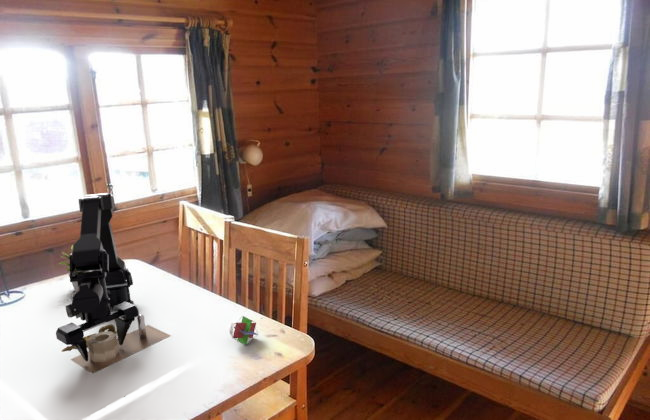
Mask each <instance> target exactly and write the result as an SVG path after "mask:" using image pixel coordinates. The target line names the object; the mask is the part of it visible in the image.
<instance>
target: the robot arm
mask: <svg viewBox="0 0 650 420" xmlns="http://www.w3.org/2000/svg"><path fill="white" fill-rule="evenodd" d="M78 205H79V206H78V207H79V212H80V213H81V222H80V233H79V238H78V240H76V241H75V242H73V244H74V245H73V244H72V245H73V251H71V253H69V256H70V260H69V261H70V262H69V264H70V271H69V273H70V277H69V282H70V283H72V282H76V281H77V282H78V288H77V290H76V291H75V292H74V294H73V297H72V299H71V303H69V304H67V305H65V312H66V314H67V317H68V318H73V317H75V319H79V318H80V320H81V321H85V322H84V323H81V324H78V325H77V324H76V323H74V322H70V323H67V324H65V325H62V326H60V327H58V328H56V329H57V330H56V332H55V335H56V340H58V341H59V342H62V343H63V344H65V345H66V346H75V347H76V348H77V349H76V350H77V351H78V352H79V354H80V355H82V357H83V358H84V360H85V361H88V351H89V350H88V348H87V345H86V339H84V338H83V337H85V332H87V331H89V330H90V331H91V330H92V329H94V328H96V327H99V326H102V325H104V324H107V323H109V322H111V321H113V320H114V322H115V324H116V327H115V328H116V331H117V333H116V337H117V338H118V342H119V345H123V342H124V340H125V337H126V334H128V331H129V329H130V327H131V324H132V322H134V321H136V318H137V316H138V315H139V314H140V313H139V312H140V311H139V308H138V306H136V305H135V304H134V303H135V302H134V300H131V293H130V287H131V286H133V285H134V281H133V277H132V272H130V271H129V268H127V267H126V263H125V261H124V260H123V259H121V258H120V257H119V256H118V252H117V248H116V242H115V238H114V237H115V236H114V234H113V228H112V224H111V219H112V218H113V215H114V209H115V207H116V203H115V197H114V196H112V194H110V193H109V192H104V193H94V194H93V193H92V194H85V195H84V197H83V198H79V199H78ZM75 268H76V271H77V272H82V271H85V272H84V273H77V274H75ZM111 309H112V311H111Z"/></svg>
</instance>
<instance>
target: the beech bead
mask: <svg viewBox="0 0 650 420" xmlns="http://www.w3.org/2000/svg"><path fill="white" fill-rule="evenodd" d="M107 331H108V330H107ZM107 331H104V332H99V331H98V332H99V333H98V332H97V333H94V334H95V335H92V334H91V335H92V336H90V338H89V339H88V341H87V344H88V348H87V350H88V351H89V355H90V359H91V360H92V361H94V362H105V361H108V360H110V359H112V358H114V357H116V356H117V354H118V352H119V350H118V344H117V338H118V337H117V333H116V334H115V333H113V332H111V331H108V332H107Z"/></svg>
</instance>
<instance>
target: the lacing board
mask: <svg viewBox="0 0 650 420" xmlns="http://www.w3.org/2000/svg"><path fill="white" fill-rule="evenodd" d="M145 328H146V335H147V337H146V338H145V339H140V336H139V329H138V328H137V329H135V330H133V331H131V332H127V334H126V337H125V340H124V342H123V345H119V342H118V337H116V338H117V344H118V350H119V352H118V354H117V356H116V357H114V358H112V359H110V360H108V361H105V362H94V361H92V360H91V359H90V355H89V350H87V351H88V361H85V360H84V358H83V357H82V355H81V354H80V355H77V356H75V357H73V358H72V357H71V359H70V360H71V361H73V362H74V363H76V364H77V365H79V366H80V367H82V368H83V369H85V370H86V371H88V372H90V373H91V374H95V373H97V372H99V371H101V370H103V369H105V368H107V367H109V366H111V365H114V364H115V363H116V364H117V363H118V362H119V361H122V360H123V359H126V358H129V357H130V356H133V355H134V354H136V353H138V352H140V351H143V350H145V349H148V348H149V347H151V346H152V345H155V344H157V343H160V342H161V341H163V340H165V339H167V338H170V337H172V335H171V334H170V333H167V332H164V331H162V330H160V329H158V328H156V327H154V326H151V325H149V324H147V325H146V324H145Z"/></svg>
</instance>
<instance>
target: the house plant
mask: <svg viewBox="0 0 650 420" xmlns="http://www.w3.org/2000/svg"><path fill="white" fill-rule="evenodd" d="M73 245H74V243H72V244H71V248H70V250H71V251H68V250H67V251H60V252H61V254H62V255H60V258H64V259H65V260H66V261H68V262H65V261H62V262H60V263H59V262H58V265H64V266H67V267H66V271H67V272H66V273H68V272H69V273H68V276H69V278H70V254H71V253H72V251H73ZM66 252H68V253H69V254H68V253H66ZM84 272H85V271H82V272H77V271H76V268H75V274H77V273H84ZM71 283H72V286H73V290H74V291H75V292H76V290H77V288H78V282H77V281H76V282H71Z"/></svg>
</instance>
